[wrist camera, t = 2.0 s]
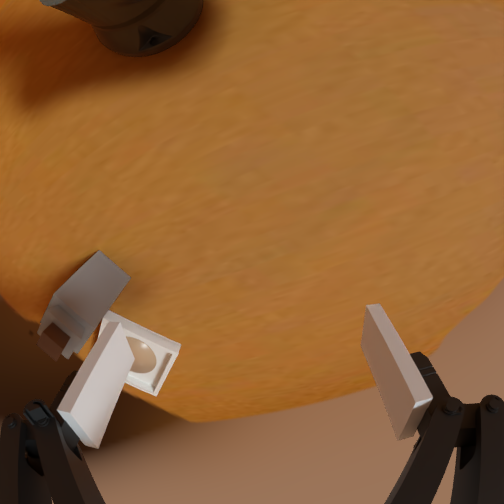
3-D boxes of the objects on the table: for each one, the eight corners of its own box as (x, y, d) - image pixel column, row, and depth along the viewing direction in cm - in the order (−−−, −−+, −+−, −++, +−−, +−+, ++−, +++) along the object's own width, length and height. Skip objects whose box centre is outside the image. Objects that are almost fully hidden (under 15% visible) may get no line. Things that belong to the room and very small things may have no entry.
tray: (96, 358, 52) (92, 366, 50) (108, 309, 47) (102, 317, 45) (159, 387, 55) (156, 396, 52) (181, 344, 50) (178, 353, 47)
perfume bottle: (99, 249, 43) (35, 313, 26) (131, 277, 45) (80, 352, 28) (81, 276, 45) (23, 342, 28) (111, 302, 47) (63, 375, 30)
